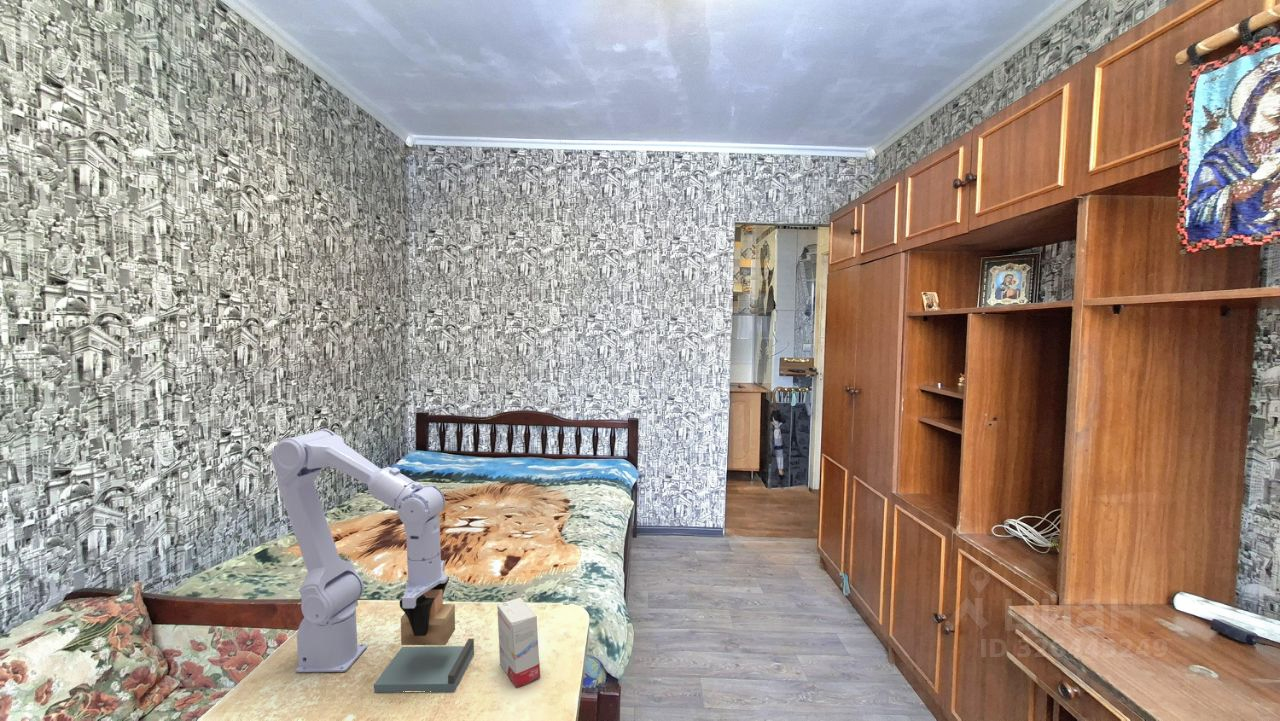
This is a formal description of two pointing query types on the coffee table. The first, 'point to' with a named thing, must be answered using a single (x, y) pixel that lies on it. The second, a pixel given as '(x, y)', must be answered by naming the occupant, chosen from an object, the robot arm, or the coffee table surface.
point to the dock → (426, 669)
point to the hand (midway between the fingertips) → (426, 626)
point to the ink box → (518, 641)
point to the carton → (435, 600)
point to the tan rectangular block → (431, 628)
